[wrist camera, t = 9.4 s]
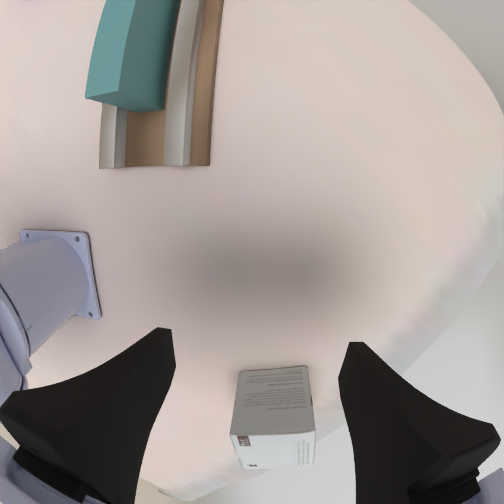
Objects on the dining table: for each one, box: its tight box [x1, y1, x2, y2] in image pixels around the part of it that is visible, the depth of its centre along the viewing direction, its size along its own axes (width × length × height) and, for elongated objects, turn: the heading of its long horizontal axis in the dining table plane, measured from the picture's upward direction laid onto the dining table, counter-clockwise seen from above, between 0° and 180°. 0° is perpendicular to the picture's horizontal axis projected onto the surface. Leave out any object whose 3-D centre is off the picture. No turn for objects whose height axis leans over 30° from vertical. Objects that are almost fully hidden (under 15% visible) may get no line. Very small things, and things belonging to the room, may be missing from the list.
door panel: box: [85, 0, 180, 113], centre depth 11 cm, size 2×10×6 cm, turn 177°
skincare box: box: [230, 366, 316, 469], centre depth 20 cm, size 6×6×7 cm
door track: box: [99, 0, 224, 169], centre depth 13 cm, size 8×18×2 cm, turn 177°
